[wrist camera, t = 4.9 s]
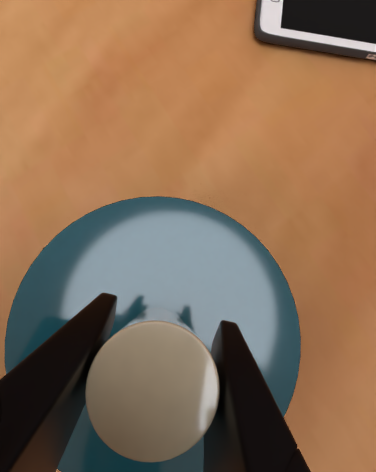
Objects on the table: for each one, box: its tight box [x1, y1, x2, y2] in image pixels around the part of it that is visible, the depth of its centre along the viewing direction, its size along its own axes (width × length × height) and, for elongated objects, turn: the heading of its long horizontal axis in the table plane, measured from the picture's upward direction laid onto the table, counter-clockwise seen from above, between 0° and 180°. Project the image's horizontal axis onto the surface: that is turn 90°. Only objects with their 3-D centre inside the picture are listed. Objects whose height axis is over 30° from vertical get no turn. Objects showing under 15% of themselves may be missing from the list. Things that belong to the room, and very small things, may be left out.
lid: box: [5, 196, 301, 472], centre depth 12 cm, size 13×13×10 cm
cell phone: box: [254, 0, 376, 60], centre depth 27 cm, size 8×15×1 cm, turn 83°
